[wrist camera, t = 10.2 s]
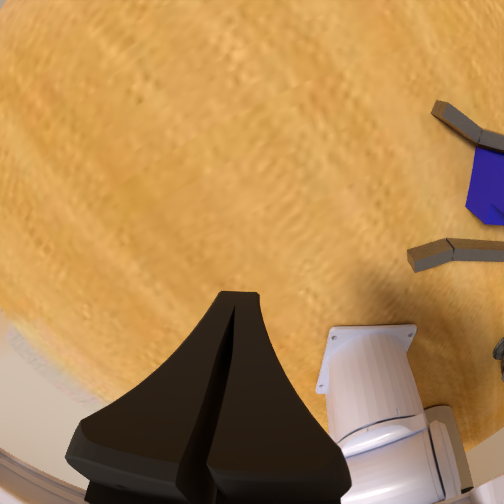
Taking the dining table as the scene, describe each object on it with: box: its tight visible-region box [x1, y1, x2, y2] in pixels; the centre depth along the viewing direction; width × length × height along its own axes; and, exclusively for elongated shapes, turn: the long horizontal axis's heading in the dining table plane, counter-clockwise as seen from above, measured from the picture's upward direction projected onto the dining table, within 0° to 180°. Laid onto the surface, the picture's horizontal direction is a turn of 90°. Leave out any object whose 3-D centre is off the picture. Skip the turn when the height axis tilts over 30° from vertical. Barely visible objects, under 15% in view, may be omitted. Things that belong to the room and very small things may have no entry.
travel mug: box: [424, 406, 474, 494], centre depth 25 cm, size 8×8×18 cm
